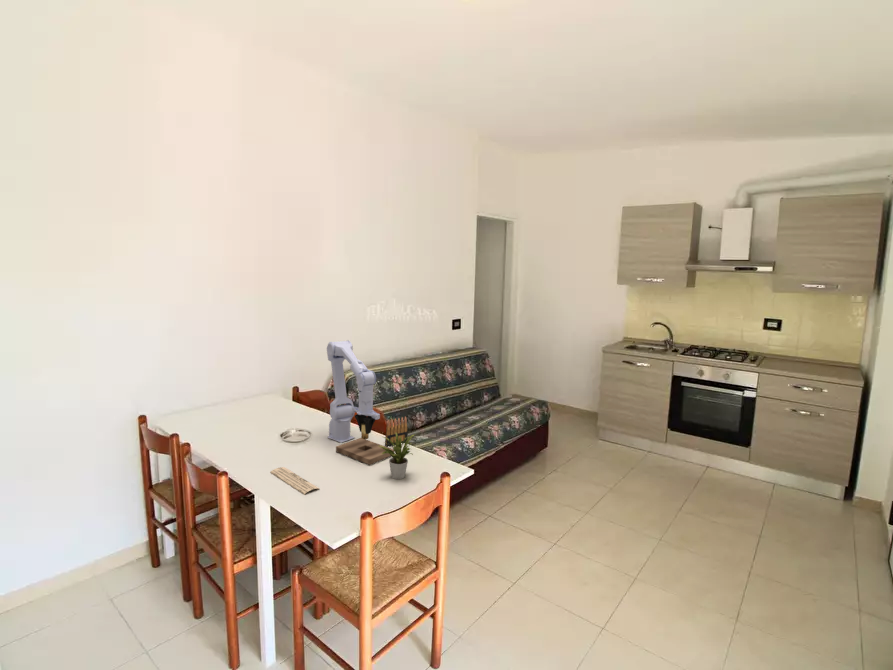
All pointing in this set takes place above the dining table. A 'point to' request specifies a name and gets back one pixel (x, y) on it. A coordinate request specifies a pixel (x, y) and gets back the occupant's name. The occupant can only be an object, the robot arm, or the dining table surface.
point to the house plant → (398, 457)
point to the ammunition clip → (396, 431)
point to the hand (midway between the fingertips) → (365, 432)
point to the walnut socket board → (363, 451)
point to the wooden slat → (293, 480)
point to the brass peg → (364, 432)
